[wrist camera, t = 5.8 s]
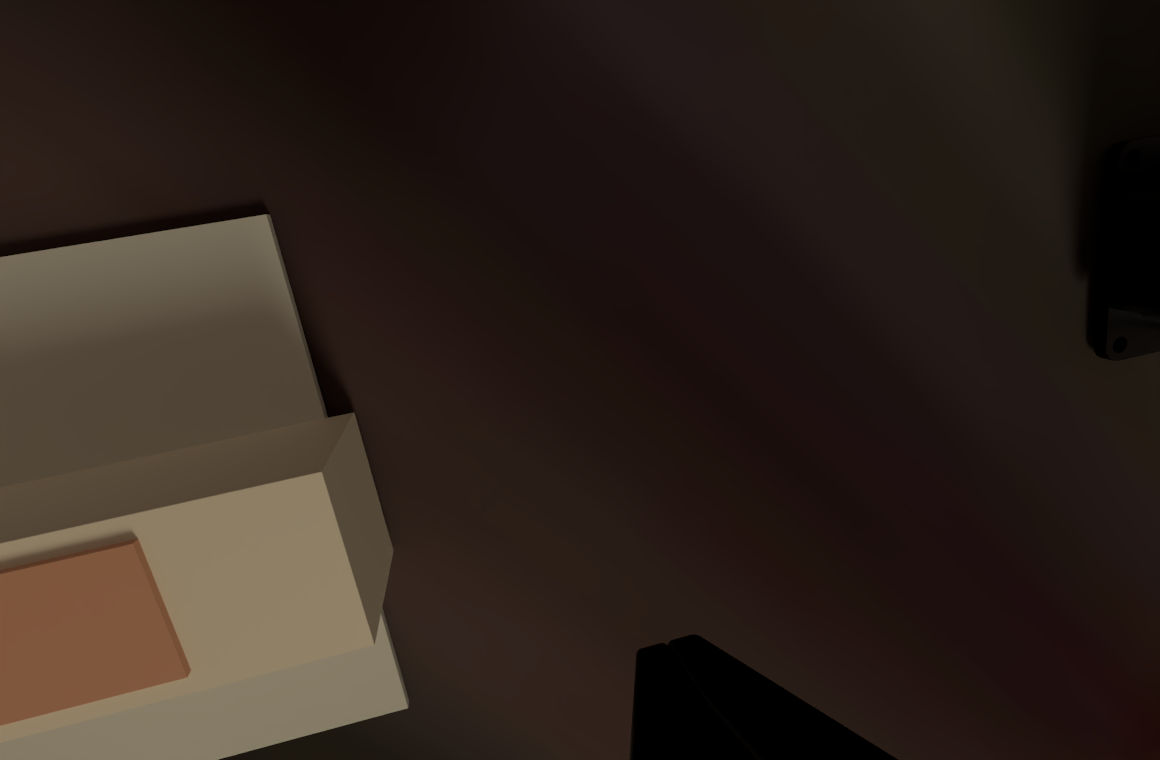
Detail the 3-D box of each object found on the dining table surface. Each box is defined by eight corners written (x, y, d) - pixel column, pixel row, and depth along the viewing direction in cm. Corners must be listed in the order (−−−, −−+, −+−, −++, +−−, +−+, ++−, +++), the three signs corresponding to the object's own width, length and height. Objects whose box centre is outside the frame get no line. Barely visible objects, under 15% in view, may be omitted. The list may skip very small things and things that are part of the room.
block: (319, 475, 12) (-220, 596, 11) (373, 651, 13) (-112, 778, 12) (354, 412, 16) (-37, 494, 15) (393, 550, 17) (31, 638, 16)
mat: (270, 214, 15) (266, 214, 15) (408, 700, 19) (408, 707, 18) (-439, 328, 13) (-459, 331, 13) (-125, 843, 17) (-136, 854, 16)
